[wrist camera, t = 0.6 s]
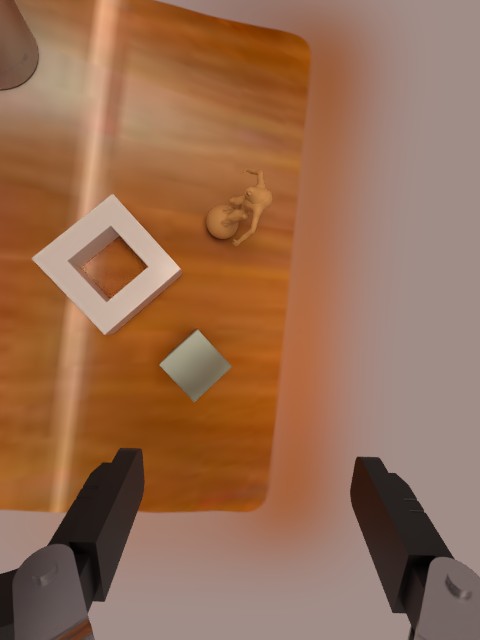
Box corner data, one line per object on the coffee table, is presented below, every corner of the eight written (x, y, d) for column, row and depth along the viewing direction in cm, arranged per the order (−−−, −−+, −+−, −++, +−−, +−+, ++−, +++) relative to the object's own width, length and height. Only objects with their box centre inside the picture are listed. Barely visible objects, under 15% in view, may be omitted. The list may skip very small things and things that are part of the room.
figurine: (210, 192, 40) (217, 136, 28) (255, 201, 41) (281, 150, 29) (201, 256, 40) (205, 226, 28) (247, 264, 41) (270, 238, 29)
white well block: (48, 265, 37) (31, 258, 33) (120, 207, 38) (112, 193, 34) (113, 333, 38) (104, 334, 34) (182, 274, 39) (180, 268, 35)
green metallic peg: (169, 353, 39) (159, 364, 27) (196, 328, 39) (197, 329, 28) (194, 379, 39) (194, 402, 27) (220, 354, 40) (232, 366, 28)
